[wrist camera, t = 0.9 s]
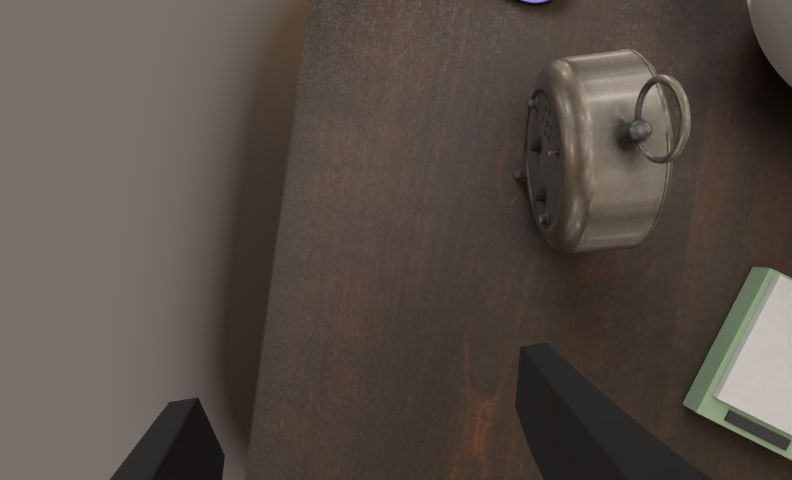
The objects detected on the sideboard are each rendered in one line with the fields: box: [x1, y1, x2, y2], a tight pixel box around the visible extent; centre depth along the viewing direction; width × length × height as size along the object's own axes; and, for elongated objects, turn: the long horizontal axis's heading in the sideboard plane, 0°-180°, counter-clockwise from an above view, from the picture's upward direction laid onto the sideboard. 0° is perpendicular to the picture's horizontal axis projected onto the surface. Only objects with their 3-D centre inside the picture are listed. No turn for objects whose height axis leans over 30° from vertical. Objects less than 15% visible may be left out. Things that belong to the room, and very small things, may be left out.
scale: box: [683, 267, 792, 460], centre depth 30 cm, size 11×8×2 cm
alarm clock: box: [514, 49, 691, 254], centre depth 23 cm, size 11×5×16 cm, turn 5°
